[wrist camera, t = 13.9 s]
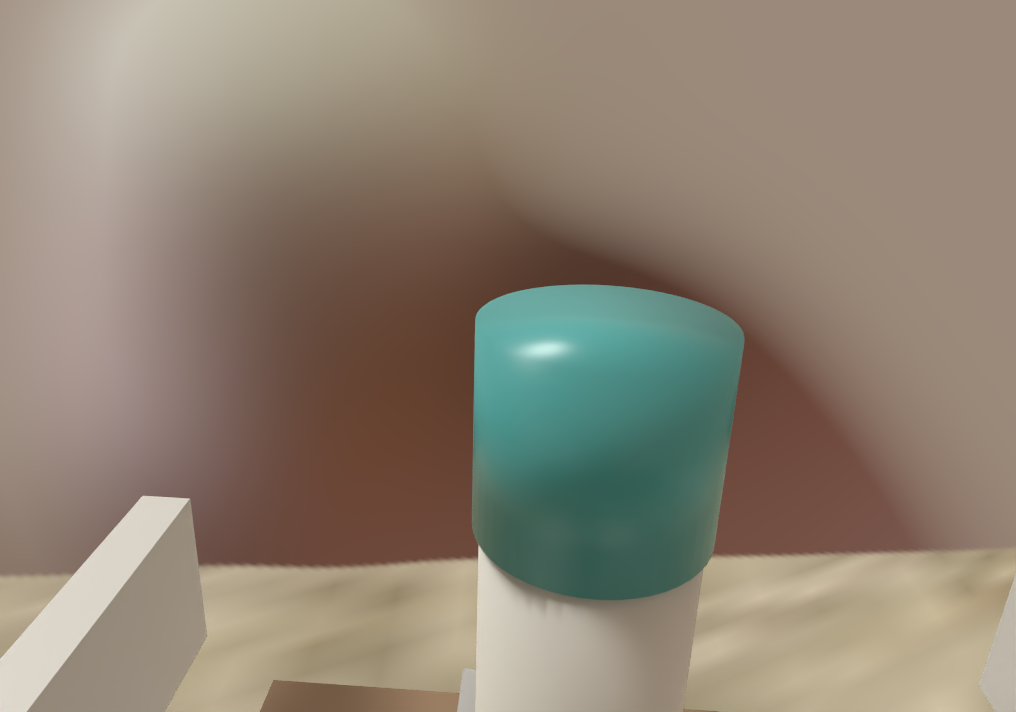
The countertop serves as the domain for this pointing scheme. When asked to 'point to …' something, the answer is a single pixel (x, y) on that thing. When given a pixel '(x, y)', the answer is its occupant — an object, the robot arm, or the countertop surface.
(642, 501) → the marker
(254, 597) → the countertop surface
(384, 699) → the clipboard
